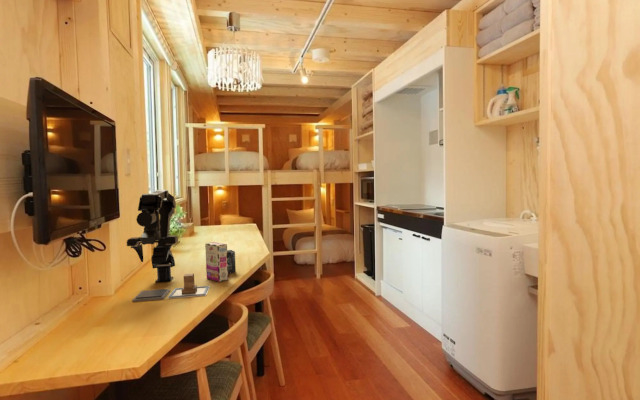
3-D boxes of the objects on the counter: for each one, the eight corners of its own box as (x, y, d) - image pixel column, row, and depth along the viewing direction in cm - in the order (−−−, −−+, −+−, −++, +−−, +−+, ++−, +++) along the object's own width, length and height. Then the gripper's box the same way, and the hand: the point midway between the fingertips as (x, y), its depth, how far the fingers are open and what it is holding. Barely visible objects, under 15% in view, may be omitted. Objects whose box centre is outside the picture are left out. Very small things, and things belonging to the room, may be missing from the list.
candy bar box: (229, 280, 164) (227, 243, 163) (219, 282, 160) (217, 245, 159) (215, 276, 171) (214, 241, 171) (206, 278, 168) (204, 243, 167)
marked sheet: (174, 289, 151) (174, 288, 151) (210, 286, 154) (210, 285, 154) (167, 298, 139) (167, 297, 139) (206, 295, 142) (206, 294, 142)
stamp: (184, 290, 149) (183, 273, 148) (197, 289, 149) (196, 272, 149) (181, 294, 144) (181, 276, 143) (195, 293, 144) (194, 276, 144)
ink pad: (141, 293, 148) (141, 290, 148) (170, 290, 150) (169, 288, 149) (132, 301, 137) (132, 298, 137) (163, 299, 139) (163, 296, 139)
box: (220, 275, 173) (219, 253, 172) (216, 273, 177) (215, 251, 177) (236, 272, 177) (235, 251, 176) (232, 270, 182) (231, 249, 181)
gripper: (120, 227, 141) (122, 267, 142) (171, 225, 144) (173, 264, 145) (130, 224, 152) (132, 261, 153) (177, 222, 155) (179, 258, 156)
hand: (154, 261), depth 151 cm, fingers open, 9 cm apart
